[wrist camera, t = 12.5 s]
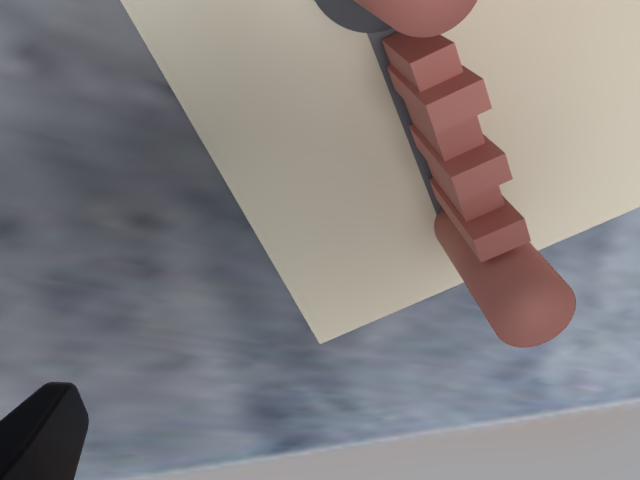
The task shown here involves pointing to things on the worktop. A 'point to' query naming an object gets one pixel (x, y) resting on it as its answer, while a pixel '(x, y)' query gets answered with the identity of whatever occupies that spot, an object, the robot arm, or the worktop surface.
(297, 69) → the card
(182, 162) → the worktop surface
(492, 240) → the fixed fence panel
